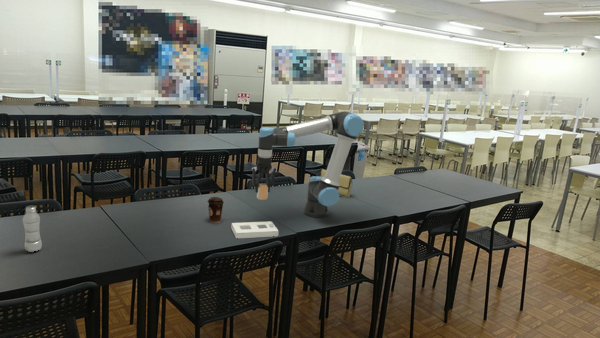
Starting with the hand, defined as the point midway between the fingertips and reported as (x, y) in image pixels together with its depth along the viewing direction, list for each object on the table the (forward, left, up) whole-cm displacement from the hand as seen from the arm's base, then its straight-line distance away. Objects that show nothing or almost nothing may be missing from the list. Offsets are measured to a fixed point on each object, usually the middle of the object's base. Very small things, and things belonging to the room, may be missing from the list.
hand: (262, 197), depth 241 cm
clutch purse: (-66, -52, -15) cm, 85 cm away
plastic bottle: (+106, +21, -15) cm, 109 cm away
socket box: (+6, +13, -15) cm, 20 cm away
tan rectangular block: (0, 0, 0) cm, 0 cm away
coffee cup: (+24, -6, -15) cm, 29 cm away
